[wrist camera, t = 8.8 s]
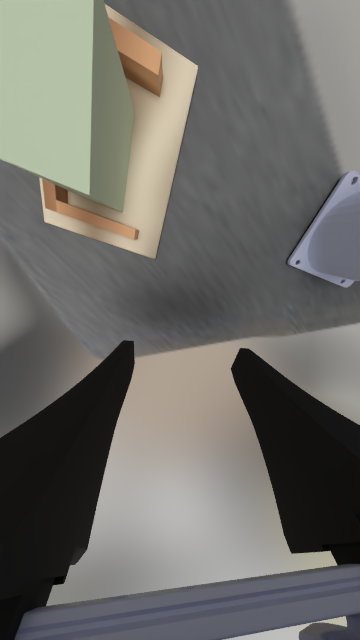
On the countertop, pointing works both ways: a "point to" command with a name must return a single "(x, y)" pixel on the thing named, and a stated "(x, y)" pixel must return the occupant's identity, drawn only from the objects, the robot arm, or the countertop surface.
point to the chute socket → (136, 146)
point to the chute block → (65, 97)
